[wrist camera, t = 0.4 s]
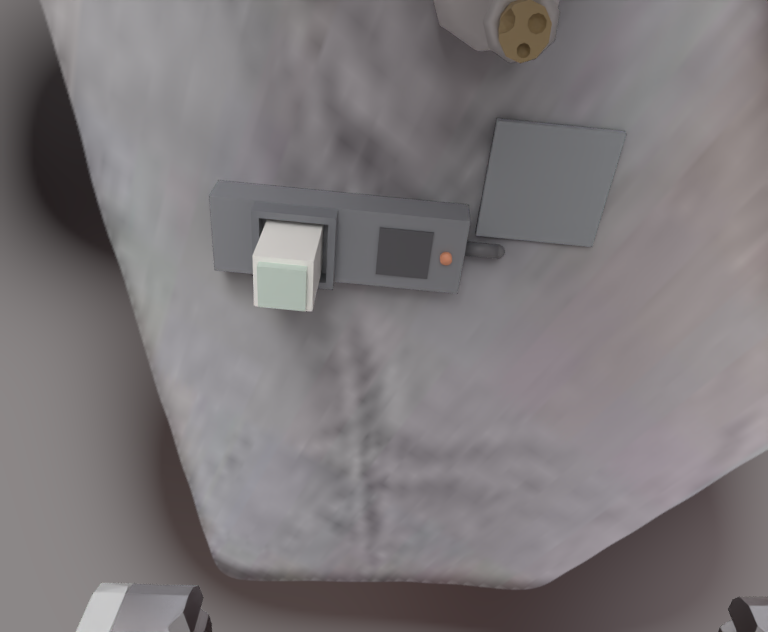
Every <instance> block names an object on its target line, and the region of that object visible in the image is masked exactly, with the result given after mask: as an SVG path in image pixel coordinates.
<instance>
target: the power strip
mask: <svg viewBox="0 0 768 632" xmlns="http://www.w3.org/2000/svg"><path fill="white" fill-rule="evenodd" d="M209 202H210V216H211V229H212V243H213V257H214V270H217V271H227V272H237V273H248V274H253V258H252V255H253V253H254V250H255V248H256V246H257V243H258V241H259V238H260V236H261V233H262V231H263V228H264V226H265V223H266V221H267V219H274V220H284V221H294V222H304V223H315V224H324V235H323V262H322V272H321V276H320V280H319V285H318V289H328V290H333V286H334V282H341V283H351V284H361V285H372V286H382V287H392V288H403V289H413V290H423V291H434V292H444V293H454V294H458V289H459V283H460V278H461V272H462V266H463V261H464V255H465V256H475V257H485V258H496V259H499V258H501V257H503V255H504V253H505V250H504V248H503V246H501V245H498V244H487V243H477V242H467V238H468V233H469V227H470V222H471V221H470V213H469V205H465V204H455V203H445V202H435V201H424V200H414V199H404V198H394V197H384V196H374V195H363V194H353V193H343V192H333V191H323V190H313V189H302V188H292V187H282V186H272V185H262V184H252V183H241V182H231V181H221V180H218V182H217V183H216V185H215V187H214V188H213V190H212V192H211V193H210V195H209Z"/></svg>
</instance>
